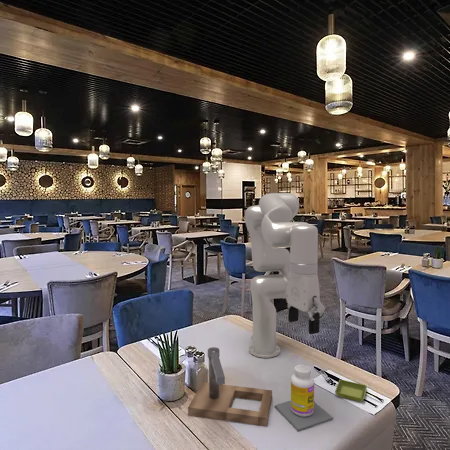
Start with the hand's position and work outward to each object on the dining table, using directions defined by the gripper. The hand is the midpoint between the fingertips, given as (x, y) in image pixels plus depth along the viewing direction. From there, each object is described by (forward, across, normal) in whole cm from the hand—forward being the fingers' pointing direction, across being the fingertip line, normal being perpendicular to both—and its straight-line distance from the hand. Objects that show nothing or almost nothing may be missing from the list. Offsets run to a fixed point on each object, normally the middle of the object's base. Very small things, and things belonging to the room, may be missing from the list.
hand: (303, 327), depth 99 cm
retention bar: (+11, -8, -24) cm, 27 cm away
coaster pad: (+26, 0, 0) cm, 26 cm away
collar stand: (+26, -11, -18) cm, 33 cm away
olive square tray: (+27, -2, +20) cm, 33 cm away
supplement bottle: (+26, 0, 0) cm, 26 cm away
